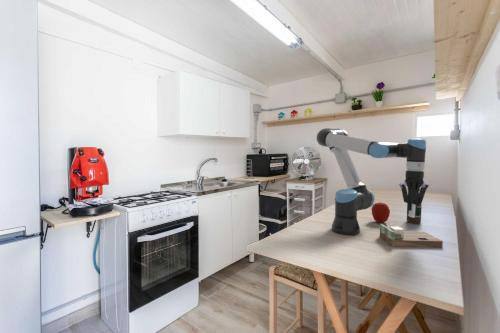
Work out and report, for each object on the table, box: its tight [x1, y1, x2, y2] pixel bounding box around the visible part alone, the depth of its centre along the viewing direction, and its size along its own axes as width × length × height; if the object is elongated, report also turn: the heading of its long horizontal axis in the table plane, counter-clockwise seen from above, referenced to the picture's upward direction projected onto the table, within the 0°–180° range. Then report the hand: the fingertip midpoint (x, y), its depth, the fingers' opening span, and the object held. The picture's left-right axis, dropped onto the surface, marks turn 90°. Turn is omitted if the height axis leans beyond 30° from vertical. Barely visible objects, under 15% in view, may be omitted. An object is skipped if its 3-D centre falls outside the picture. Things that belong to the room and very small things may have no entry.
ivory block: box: [389, 226, 405, 237], centre depth 122 cm, size 4×4×4 cm
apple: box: [371, 202, 391, 224], centre depth 154 cm, size 10×10×14 cm
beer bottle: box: [406, 203, 423, 225], centre depth 153 cm, size 8×8×24 cm
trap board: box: [379, 223, 444, 248], centre depth 122 cm, size 13×23×7 cm, turn 86°
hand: (411, 216), depth 122 cm, fingers closed
